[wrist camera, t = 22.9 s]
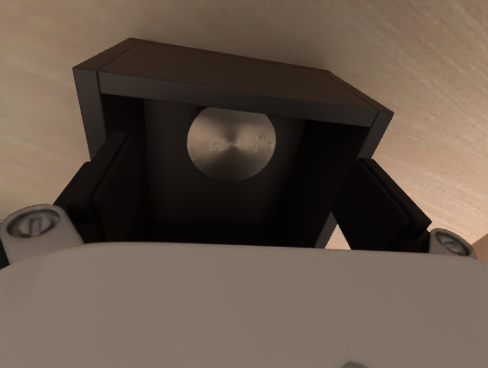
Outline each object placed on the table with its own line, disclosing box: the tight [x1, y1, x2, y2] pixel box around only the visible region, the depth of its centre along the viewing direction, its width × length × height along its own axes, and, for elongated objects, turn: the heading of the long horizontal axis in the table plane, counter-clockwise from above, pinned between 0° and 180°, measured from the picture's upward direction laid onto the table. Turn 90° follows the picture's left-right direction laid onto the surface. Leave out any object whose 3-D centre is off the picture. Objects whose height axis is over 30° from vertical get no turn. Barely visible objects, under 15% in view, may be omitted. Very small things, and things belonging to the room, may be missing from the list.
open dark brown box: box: [72, 38, 394, 249], centre depth 17 cm, size 15×13×8 cm
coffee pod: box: [187, 106, 276, 181], centre depth 16 cm, size 5×5×4 cm
